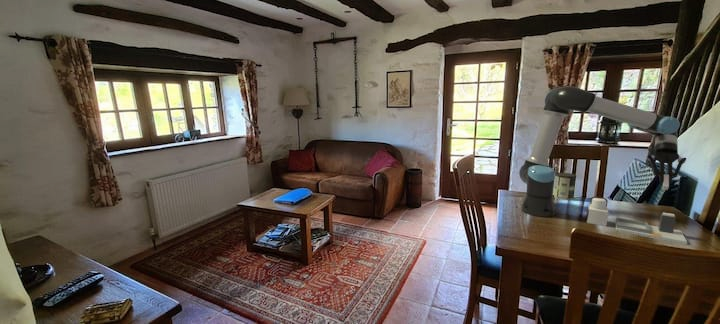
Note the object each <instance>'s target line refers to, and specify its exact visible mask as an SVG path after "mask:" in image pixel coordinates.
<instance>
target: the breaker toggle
mask: <svg viewBox="0 0 720 324" xmlns="http://www.w3.org/2000/svg"><path fill="white" fill-rule="evenodd" d="M676 220H677V217H676V215H675V214H674V213H668V212H662V213H660V219H659V223H658V224H659V225H658V227H659V228H658V229H659V231H662V232H667V233H673V231H674V230H675V225H676Z"/></svg>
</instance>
